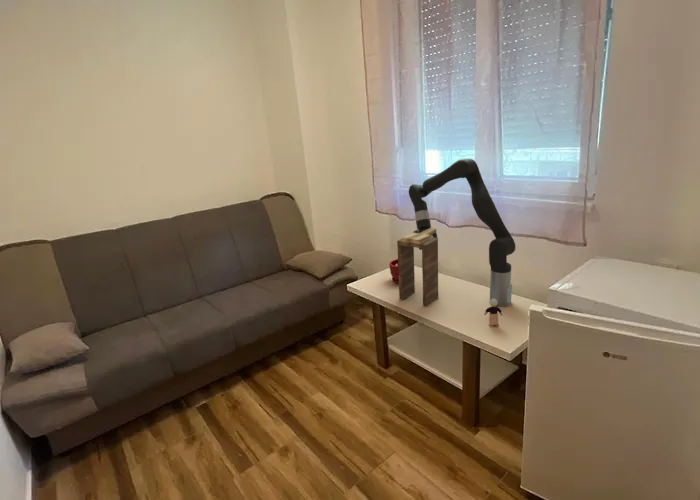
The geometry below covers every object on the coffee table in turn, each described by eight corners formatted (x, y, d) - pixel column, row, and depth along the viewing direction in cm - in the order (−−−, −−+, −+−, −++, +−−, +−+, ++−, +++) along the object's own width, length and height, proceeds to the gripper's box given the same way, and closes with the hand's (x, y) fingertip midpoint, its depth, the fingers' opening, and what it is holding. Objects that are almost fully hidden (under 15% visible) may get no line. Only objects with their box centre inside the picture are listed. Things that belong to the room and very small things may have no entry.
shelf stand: (438, 298, 209) (437, 238, 199) (426, 306, 200) (425, 244, 191) (411, 291, 219) (410, 234, 209) (399, 299, 210) (397, 240, 201)
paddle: (441, 233, 208) (441, 229, 208) (420, 244, 193) (419, 240, 192) (424, 231, 215) (424, 227, 214) (402, 241, 199) (402, 237, 198)
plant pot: (394, 276, 243) (393, 257, 239) (415, 278, 237) (415, 259, 233) (386, 284, 231) (386, 264, 228) (408, 286, 226) (408, 266, 222)
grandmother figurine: (499, 322, 179) (500, 296, 175) (503, 327, 175) (504, 300, 172) (482, 324, 179) (483, 298, 175) (485, 328, 175) (486, 301, 172)
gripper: (416, 218, 211) (421, 248, 208) (437, 218, 218) (442, 247, 215) (408, 222, 218) (412, 251, 215) (428, 222, 224) (433, 250, 222)
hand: (427, 249), depth 215 cm, fingers open, 8 cm apart
